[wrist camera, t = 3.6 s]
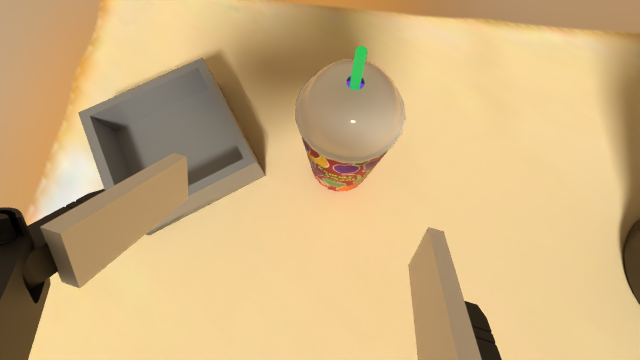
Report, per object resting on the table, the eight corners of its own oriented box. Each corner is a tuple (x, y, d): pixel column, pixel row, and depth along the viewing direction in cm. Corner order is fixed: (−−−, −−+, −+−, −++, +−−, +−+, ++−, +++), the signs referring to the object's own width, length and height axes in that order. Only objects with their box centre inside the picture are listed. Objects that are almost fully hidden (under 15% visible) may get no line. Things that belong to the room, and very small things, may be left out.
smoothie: (318, 210, 33) (314, 142, 13) (296, 148, 35) (265, 14, 16) (383, 186, 33) (467, 90, 14) (357, 128, 36) (400, -25, 16)
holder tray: (265, 175, 34) (256, 161, 29) (149, 235, 32) (119, 231, 27) (217, 83, 37) (202, 57, 33) (111, 132, 36) (78, 112, 31)
